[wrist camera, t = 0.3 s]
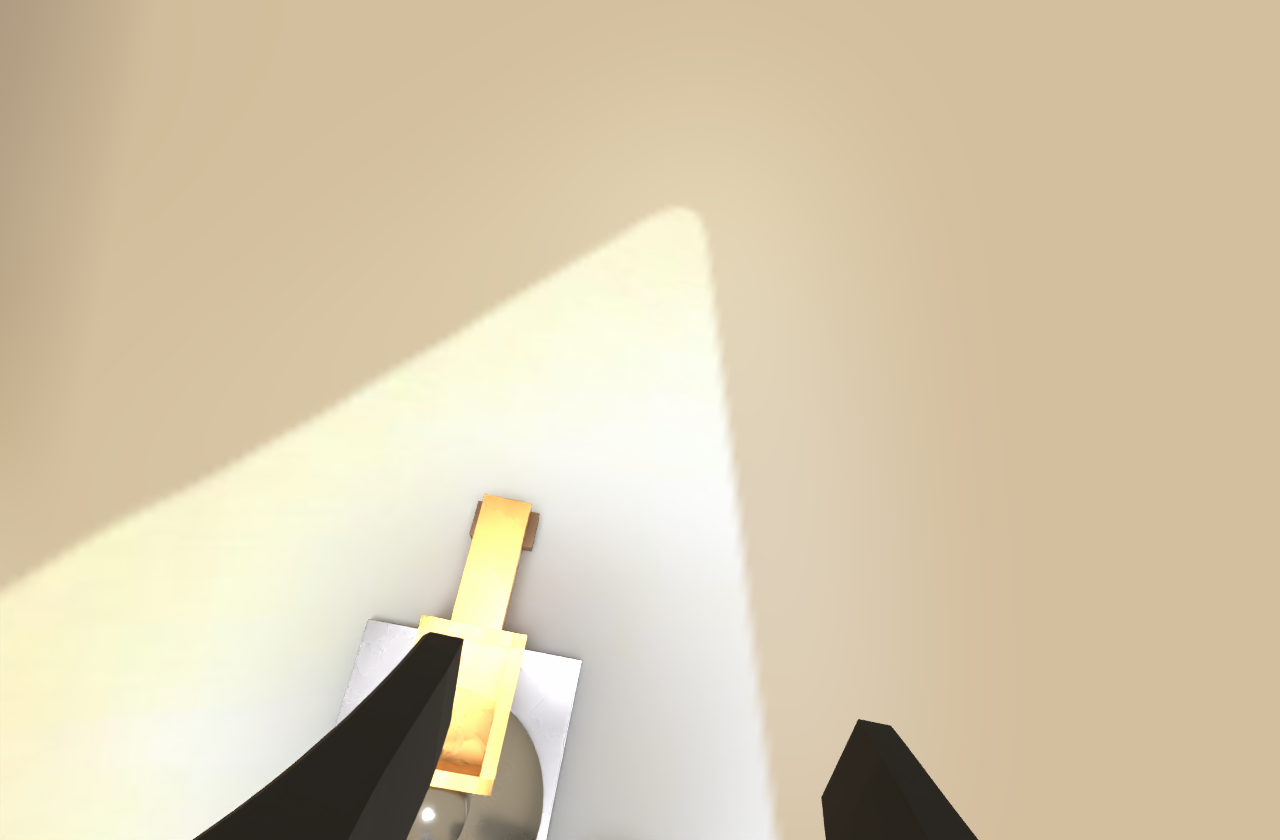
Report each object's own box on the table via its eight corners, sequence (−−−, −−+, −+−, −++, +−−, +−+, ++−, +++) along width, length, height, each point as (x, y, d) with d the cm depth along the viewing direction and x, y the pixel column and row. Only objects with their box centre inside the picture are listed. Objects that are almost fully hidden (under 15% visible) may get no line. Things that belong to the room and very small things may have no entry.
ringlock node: (523, 949, 34) (522, 993, 30) (281, 912, 33) (244, 951, 29) (606, 533, 41) (615, 519, 37) (410, 491, 40) (397, 473, 36)
